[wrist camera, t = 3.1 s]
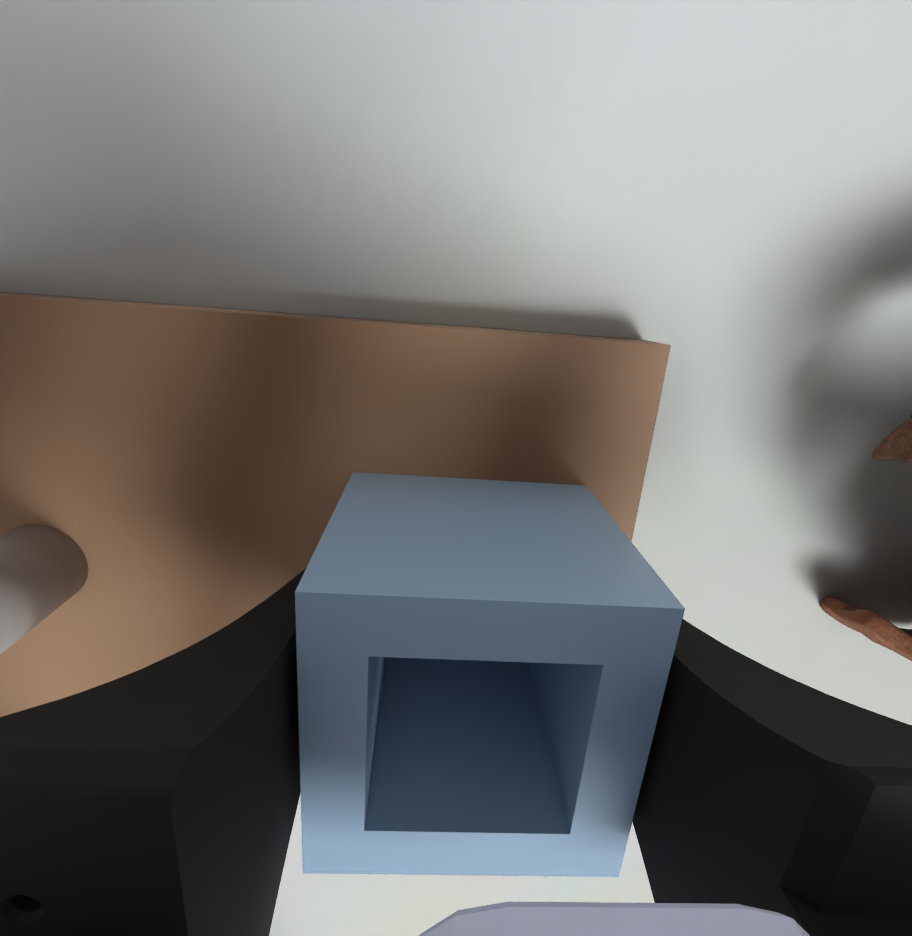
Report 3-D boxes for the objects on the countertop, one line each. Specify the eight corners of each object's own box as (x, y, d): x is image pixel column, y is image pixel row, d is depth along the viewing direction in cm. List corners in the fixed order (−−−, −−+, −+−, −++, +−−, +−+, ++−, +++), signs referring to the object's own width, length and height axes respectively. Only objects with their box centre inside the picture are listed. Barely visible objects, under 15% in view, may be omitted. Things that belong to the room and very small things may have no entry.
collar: (585, 485, 12) (684, 608, 7) (554, 675, 14) (618, 876, 9) (352, 471, 12) (295, 591, 7) (350, 667, 13) (303, 873, 9)
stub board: (644, 340, 12) (772, 365, 8) (572, 728, 16) (629, 908, 11) (-146, 281, 11) (-563, 267, 7) (-26, 711, 15) (-239, 901, 10)
